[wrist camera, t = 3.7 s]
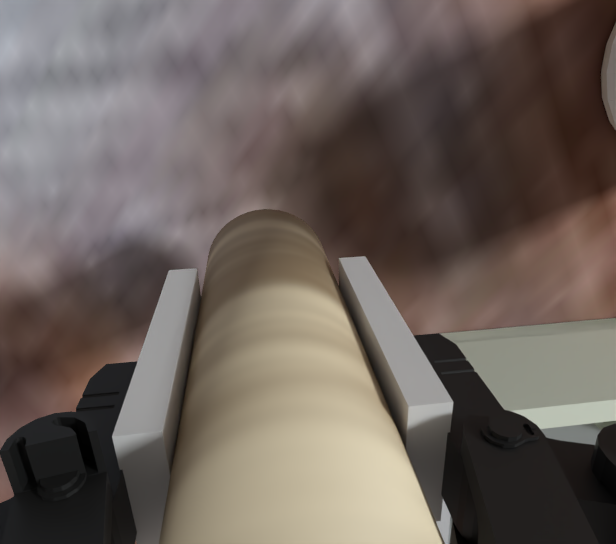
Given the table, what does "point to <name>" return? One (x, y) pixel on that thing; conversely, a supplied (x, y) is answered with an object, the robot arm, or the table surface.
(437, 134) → the table surface
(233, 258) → the peg
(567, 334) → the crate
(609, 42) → the mug
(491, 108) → the table surface
